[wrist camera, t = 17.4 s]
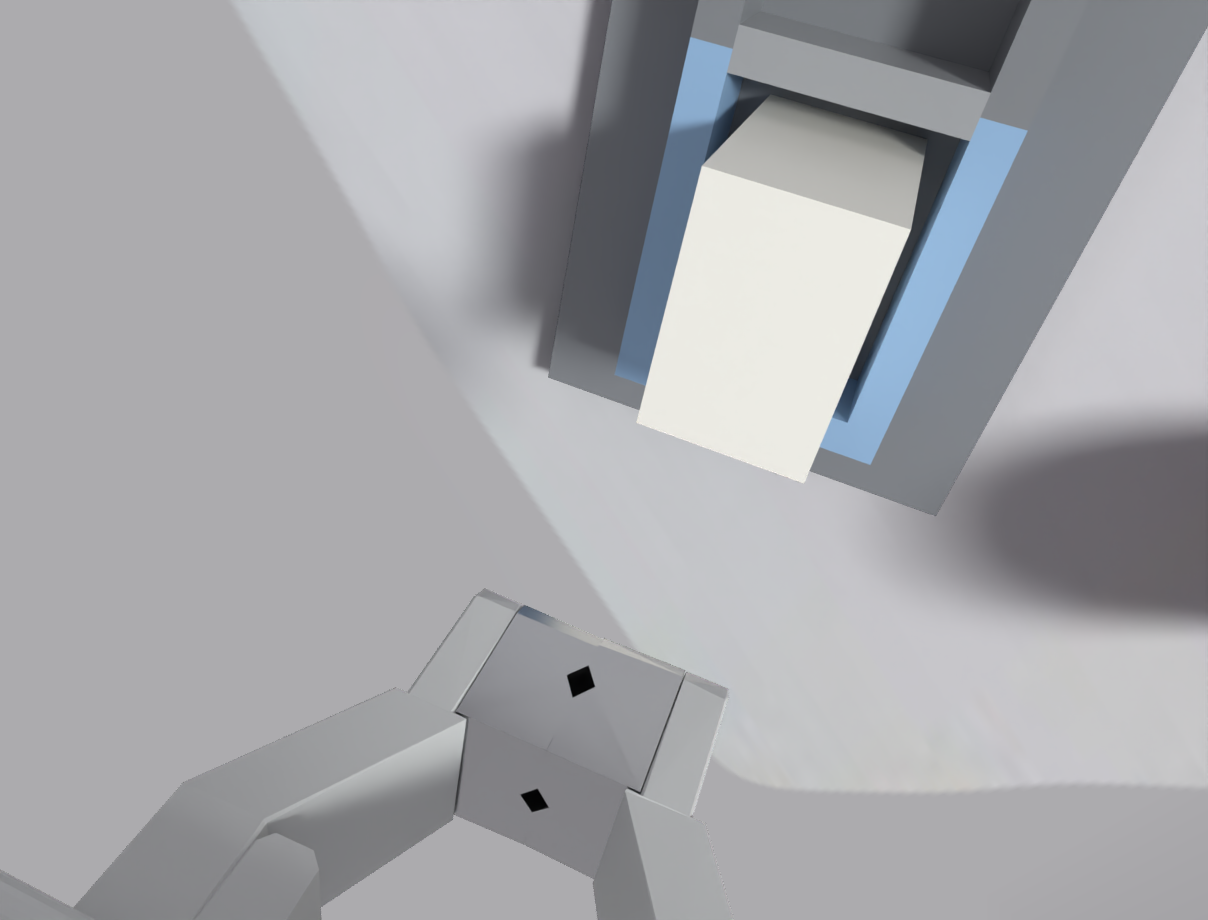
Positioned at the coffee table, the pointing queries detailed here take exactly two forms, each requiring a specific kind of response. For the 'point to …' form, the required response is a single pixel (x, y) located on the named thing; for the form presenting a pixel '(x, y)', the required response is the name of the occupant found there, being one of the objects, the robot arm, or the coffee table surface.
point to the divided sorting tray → (944, 202)
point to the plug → (780, 282)
